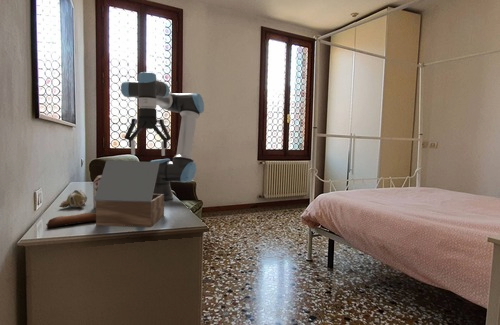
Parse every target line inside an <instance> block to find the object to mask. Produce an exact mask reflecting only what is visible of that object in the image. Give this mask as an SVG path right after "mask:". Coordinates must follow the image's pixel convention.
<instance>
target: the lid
mask: <svg viewBox="0 0 500 325" xmlns="http://www.w3.org/2000/svg"><path fill="white" fill-rule="evenodd" d="M158 168H159V162H150V161H136V160H135V161H131V160H106V161H105V164H104V168H103V171H102V174H101V175H102V176H101V180H100V183H99V186H98V189H97V192H96V195H95V198H94V200H95V201H118V202H151V201H152V197H153V192H154V187H155V183H156V178H157V173H158Z"/></svg>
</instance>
